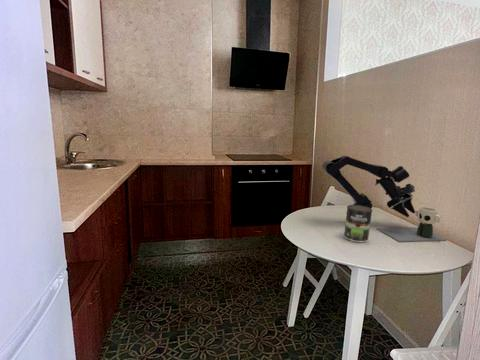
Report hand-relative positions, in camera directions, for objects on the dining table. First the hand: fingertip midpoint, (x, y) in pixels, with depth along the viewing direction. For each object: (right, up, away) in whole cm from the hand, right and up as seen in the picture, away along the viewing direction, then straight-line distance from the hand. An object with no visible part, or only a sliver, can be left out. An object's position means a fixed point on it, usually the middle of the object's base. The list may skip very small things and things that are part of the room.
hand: (411, 214), depth 138 cm
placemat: (-1, -9, -1) cm, 9 cm away
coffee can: (-29, -10, -7) cm, 32 cm away
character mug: (+4, -9, -3) cm, 11 cm away
